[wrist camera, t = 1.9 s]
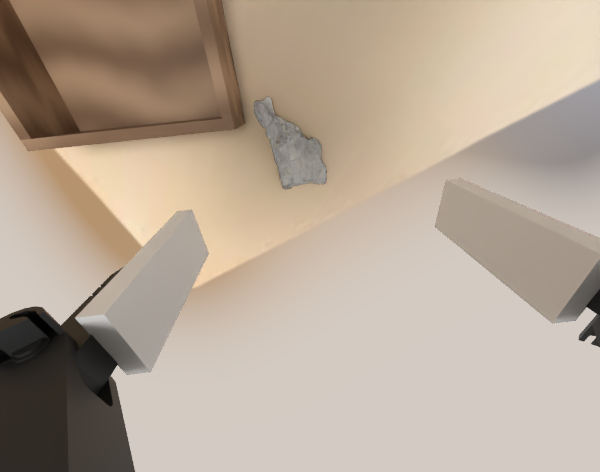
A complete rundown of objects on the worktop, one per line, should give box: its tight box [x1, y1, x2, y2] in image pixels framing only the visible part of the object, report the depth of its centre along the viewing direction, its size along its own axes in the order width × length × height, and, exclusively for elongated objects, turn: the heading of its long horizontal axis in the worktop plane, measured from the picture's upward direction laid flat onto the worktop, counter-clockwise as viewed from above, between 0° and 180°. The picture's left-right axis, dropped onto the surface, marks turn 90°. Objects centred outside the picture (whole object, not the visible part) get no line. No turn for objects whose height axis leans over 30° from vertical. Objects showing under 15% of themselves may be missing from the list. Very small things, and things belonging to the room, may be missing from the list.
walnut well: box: [0, 0, 245, 151], centre depth 21 cm, size 15×20×7 cm
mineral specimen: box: [254, 96, 327, 189], centre depth 28 cm, size 6×12×4 cm, turn 18°
